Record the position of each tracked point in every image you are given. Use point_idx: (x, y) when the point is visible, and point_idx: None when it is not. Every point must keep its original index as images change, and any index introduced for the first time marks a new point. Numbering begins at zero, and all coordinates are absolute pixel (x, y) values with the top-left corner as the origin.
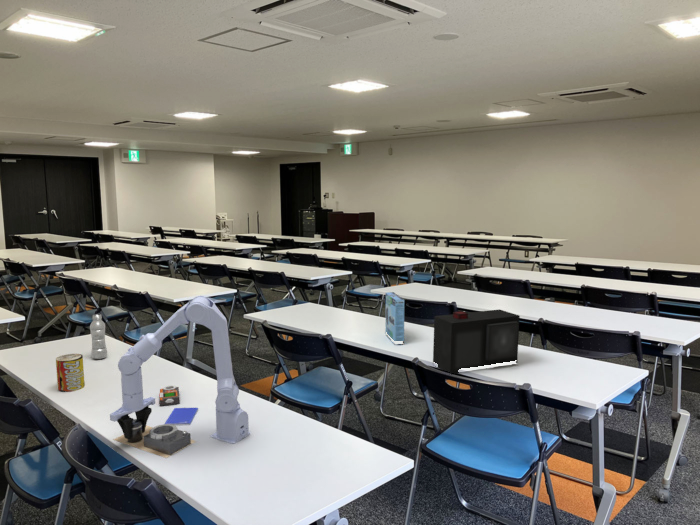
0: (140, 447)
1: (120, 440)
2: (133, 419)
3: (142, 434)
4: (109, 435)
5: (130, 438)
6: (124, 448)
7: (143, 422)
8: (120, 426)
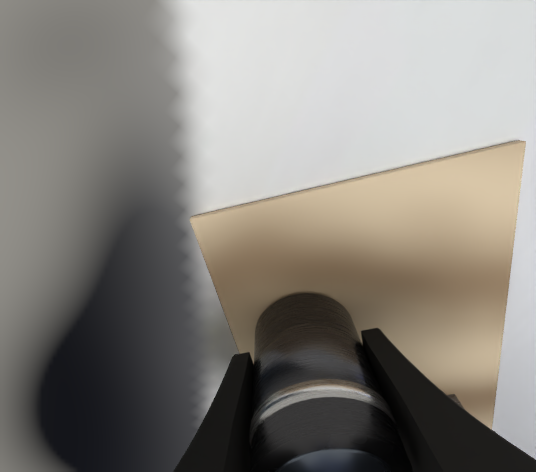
0: None
1: (228, 271)
2: (368, 439)
3: (385, 294)
4: (201, 89)
5: None
6: (210, 361)
7: None
8: (181, 460)
